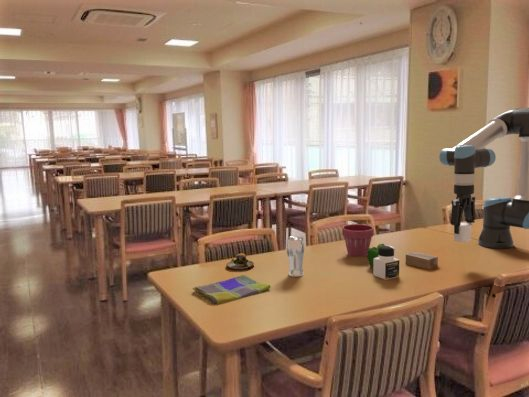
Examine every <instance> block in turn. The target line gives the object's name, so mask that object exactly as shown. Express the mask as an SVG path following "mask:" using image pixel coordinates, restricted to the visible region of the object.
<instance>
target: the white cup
mask: <svg viewBox="0 0 529 397" xmlns="http://www.w3.org/2000/svg"><path fill="white" fill-rule="evenodd" d="M460 226H462V232H461V242H460V243H469V242H471V239H472V231H471V230H472V229H473V223H472V224H471V223H466V221H465V222H464V221H463V222H462V221H461V224H460ZM470 238H471V239H470Z"/></svg>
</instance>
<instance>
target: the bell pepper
mask: <svg viewBox="0 0 529 397" xmlns="http://www.w3.org/2000/svg"><path fill="white" fill-rule="evenodd" d="M384 245H385V244H384V243H379V244H378V245H377V246H372V247H369V249H368V255H367V260H368V264H369V266H370V267H372V268H373V259H374V258H377V257H378V248H379V247H380V246H384Z"/></svg>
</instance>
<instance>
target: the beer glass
mask: <svg viewBox="0 0 529 397" xmlns="http://www.w3.org/2000/svg"><path fill="white" fill-rule="evenodd" d="M286 239H287V240H286V255H287V259H288V264H289V265H288V266H289V267H288V268H289V269H288V276H290V277H293V278H294V277H295V278H297V277H299V278H300V277H303V276H304V269H303V268H304V267H303V262H304V257H305V242H304V237H302V236H288V237H287V238H286Z"/></svg>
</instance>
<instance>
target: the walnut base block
mask: <svg viewBox="0 0 529 397" xmlns="http://www.w3.org/2000/svg"><path fill="white" fill-rule="evenodd" d="M438 259H439V256H436V255H432V254H427V253H423V252H418V251H412V252H409V253H406V254H405V264H406V265H410V266H414V267H418V268H422V269H426V270H430V269H433V268H437V267H438V265H439V264H438V262H439V260H438Z"/></svg>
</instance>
